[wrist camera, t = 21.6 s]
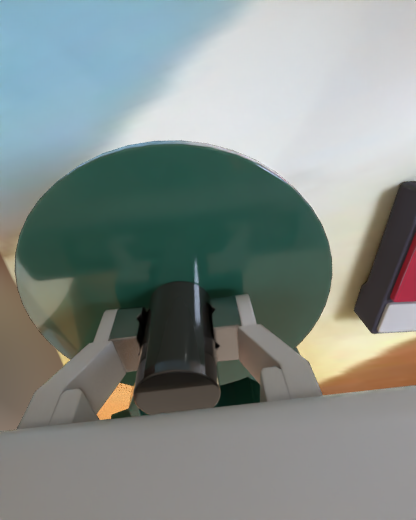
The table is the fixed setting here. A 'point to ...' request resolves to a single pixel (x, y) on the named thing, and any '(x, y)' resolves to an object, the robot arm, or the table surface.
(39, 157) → the table surface
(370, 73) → the table surface
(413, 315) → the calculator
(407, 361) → the table surface
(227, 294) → the tin lid
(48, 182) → the table surface
